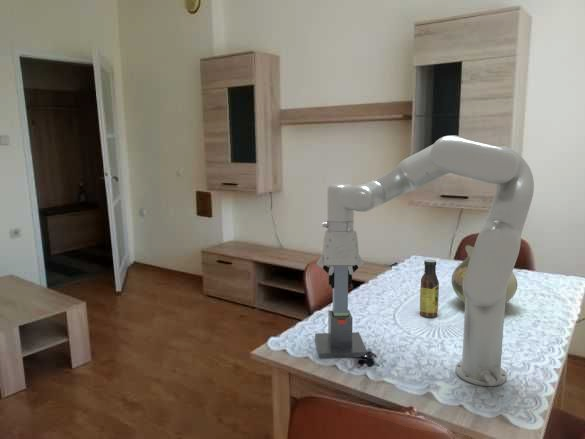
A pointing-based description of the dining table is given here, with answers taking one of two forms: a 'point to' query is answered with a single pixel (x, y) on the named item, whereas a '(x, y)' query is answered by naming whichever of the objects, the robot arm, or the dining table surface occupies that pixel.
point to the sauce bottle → (429, 290)
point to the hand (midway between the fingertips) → (340, 286)
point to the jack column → (340, 291)
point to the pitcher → (461, 271)
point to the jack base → (340, 339)
